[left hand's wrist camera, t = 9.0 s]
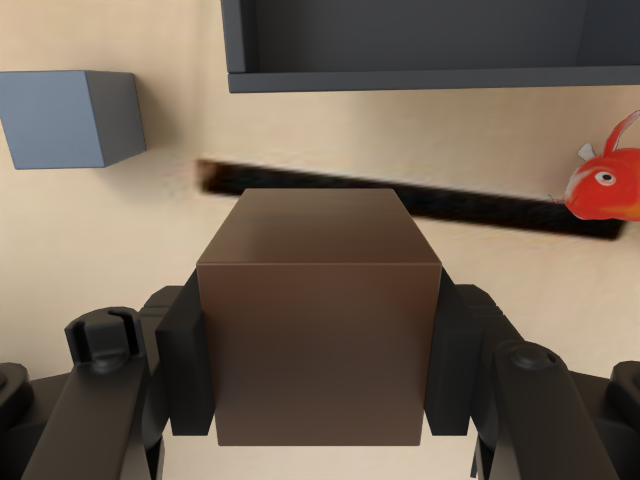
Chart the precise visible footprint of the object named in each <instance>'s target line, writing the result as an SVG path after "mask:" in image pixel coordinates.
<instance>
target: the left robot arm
mask: <svg viewBox="0 0 640 480" xmlns="http://www.w3.org/2000/svg"><path fill="white" fill-rule="evenodd" d="M64 330H65V334H66V337H67V341H68V345H69V348H70V352H71V356H72V359H73V363H74V367H73V369H72V371H71V372H70V373H66V374H62V375H57V376H52V377H47V378H42V379H38V380H33V381H30V378H29V375H28V372H27V369H26V368H25V367H24V366H22V365H21V364H16V363H1V364H0V480H162V472H163V463H164V455H165V448H164V442H163V437H162V433H163V430H164V428H165V426H166V424H167V421H168V419H169V417H170V422H171V427H172V433H173V436H207V435H208V432H209V428H210V425H211V422H212V419H213V416H214V413H215V403H214V395H213V387H212V378H211V370H210V362H209V354H208V346H207V338H206V329H205V321H204V313H203V311H202V308H201V300H200V292H199V284H198V276H197V267H196V269H195V270H194V272H193V273H192V275H191V276H190V278H189V279H188V281H187V282H186V284H185V285H184V286H165V287H164V288H162V289H161V290H159V291H157V292H156V293H154V294H153V295H152V296H151V297H150V298H149V299H148V301H147V302H146V303H145V305H144V307H142V308H141V310H140V311H139V312H137V311H135V310H134V309H132V308H127V307H108V308H103V309H98V310H94V311H92V312H89V313H86V314H84V315H82V316H80V317H78V318H77V319H75V320H73V321H72V322H71V323H70V324H69V325H68V326H67V327H66V328H65V329H64ZM424 410H425V414H426V417H427V420H428V423H429V426H430V429H431V433H432V436H467V431H468V426H469V420H470V416H471V418H472V420H473V422H474V424H475V427H476V429H477V431H478V437H477V442H476V447H475V452H474V458H473V463H472V468H471V475H470V477H473V478H476V474H477V471H478V480H640V362H639V361H625V362H619V363H618V364H617V365H616V366H614V367H613V371H612V374H611V377H610V379H606V378H602V377H597V376H592V375H587V374H582V373H577V372H573V371H569V370H568V368H567V366H566V364H565V363H564V362H563V360H562V359H561V358H560V357H559V356H558V355H557V354H555V353H554V352H552V351H551V350H550V349H548V348H545V347H543V346H541V345H538V344H536V343H532V342H528V341H525V340H524V339H523V338H522V336H521V335H520V334H519V333H518V331H517V330H516V329H515V327H514V326H513V325H512V324H511V322H510V321H509V320H508V319H507V317H506V316H505V315H503V312H502V311H501V310H500V308H499V307H498V306H496V303H495V302H494V301H493V299H492V298H491V297H490V296H489V294H488V293H486V292H485V291H483V290H481V289H480V288H478V287H477V286H475V285H473V284H454V283H453V281H452V280H451V278H450V277H449V275H448V274H447V272H446V271H445V269H444V268H443V266H442V270H441V278H440V286H439V295H438V303H437V310H436V316H435V324H434V333H433V341H432V349H431V357H430V365H429V374H428V382H427V390H426V398H425V406H424Z"/></svg>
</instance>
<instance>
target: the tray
mask: <svg viewBox="0 0 640 480" xmlns="http://www.w3.org/2000/svg"><path fill="white" fill-rule="evenodd" d="M221 9H222V19H223V30H224V41H225V51H226V62H227V71H228V73H230V74H228V84H229V92H230V93H276V92H323V91H370V90H417V89H464V88H510V87H557V86H604V85H640V0H221Z"/></svg>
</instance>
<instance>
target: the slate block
mask: <svg viewBox="0 0 640 480" xmlns="http://www.w3.org/2000/svg"><path fill="white" fill-rule="evenodd" d="M0 119H1V122H2V126H3V129H4V133H5V136H6V140H7V143H8V146H9V150H10V153H11V157H12V160H13V164H14V167H15V169H17V170H23V169H68V168H105V167H108V166H110V165H113V164H115V163H118V162H120V161H123V160H125V159H127V158H130V157H132V156H135V155H137V154H140V153H142V152H145V151H146V146H145V140H144V134H143V129H142V123H141V117H140V111H139V105H138V99H137V94H136V88H135V82H134V76H133V73H126V72H109V71H92V70H61V71H10V72H0Z"/></svg>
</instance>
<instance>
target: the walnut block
mask: <svg viewBox="0 0 640 480" xmlns="http://www.w3.org/2000/svg"><path fill="white" fill-rule="evenodd" d="M196 267H197V276H198V284H199V292H200V300H201V308H202V311H203V313H204V321H205V329H206V338H207V346H208V354H209V362H210V370H211V378H212V387H213V395H214V403H215V413H214V414H215V422H216V430H217V438H218V445H219V446H419V445H420V440H421V432H422V424H423V416H424V406H425V398H426V390H427V382H428V374H429V365H430V357H431V349H432V341H433V333H434V324H435V316H436V310H437V303H438V295H439V286H440V278H441V270H442V262H441V261H440V259H439V258H438V256H437V255H436V253H435V252H434V250H433V249H432V247H431V246H430V244H429V243H428V241H427V240H426V238H425V237H424V235H423V234H422V232H421V231H420V229H419V228H418V226H417V225H416V223H415V222H414V220H413V219H412V217H411V216H410V214H409V213H408V211H407V210H406V208H405V207H404V205H403V204H402V202H401V201H400V199H399V198H398V196H397V195H396V193H395V192H394V190H393V189H246V190H245V191H244V193H243V194H242V196H241V197H240V199H239V200H238V202H237V203H236V205H235V206H234V208H233V209H232V211H231V212H230V214H229V215H228V217H227V218H226V220H225V221H224V223H223V224H222V226H221V227H220V229H219V230H218V232H217V233H216V234H215V236H214V237H213V239H212V240H211V242H210V243H209V245H208V246H207V248H206V249H205V251H204V252H203V254H202V255H201V257H200V258H199V260H198V261H197V263H196Z"/></svg>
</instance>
